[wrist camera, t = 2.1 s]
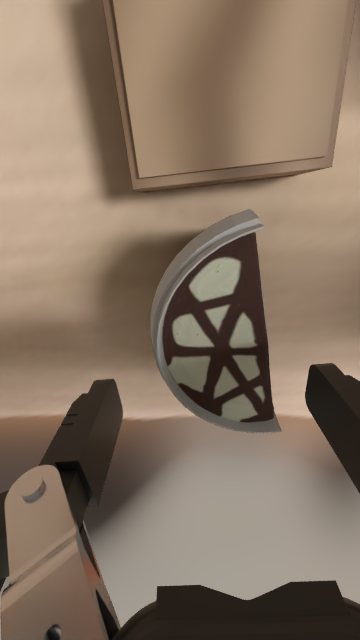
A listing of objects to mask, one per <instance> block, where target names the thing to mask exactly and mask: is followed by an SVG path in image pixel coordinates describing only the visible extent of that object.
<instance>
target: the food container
mask: <svg viewBox="0 0 360 640" xmlns="http://www.w3.org/2000/svg"><path fill="white" fill-rule="evenodd" d="M264 228H265V227H264V225H262V224H260V223H259V217H258V216H257V215H256V214H255V213H254V212H253V211H252V210H250V209H248V210H246V211H243V212H240V213H237V214H234V215H231V216H229V217H227V218H225V219H223V220H221V221H219V222H217V223H216V224H214V225H212V226H210V227H208V228H207V229H206V230H204V231H203V232H202V233H200V234H199V235H198V236H196V237H195V238H194V239H192V240H191V241H190V242H189V243H188V244H187V245H186V246H185V247H184V248H183V249H182V250H181V251H180V252H179V253H178V254H177V255H176V257H175V258H174V260H173V261H172V262H171V264H170V265H169V267H168V268H167V269H166V271H165V273H164V275H163V277H162V279H161V281H160V283H159V285H158V287H157V289H156V293H155V296H154V299H153V303H152V308H151V317H150V329H151V340H152V345H153V351H154V355H155V359H156V363H157V366H158V368H159V370H160V373H161V375H162V377H163V379H164V380H165V382H166V383H167V385H168V387H169V388H170V390H171V391H172V393H173V394H174V396H175V397H176V398H177V399H178V400H179V401H180V402H181V403H182V404H183V405H184V406H185V407H186V408H187V409H188V410H190V411H191V412H192V413H194V414H195V415H196V416H198V417H200V418H202V419H204V420H205V421H207V422H209V423H212V424H215V425H217V426H220V427H222V428H226V429H231V430H234V431H240V432H248V433H275V432H282V431H281V428H280V426H279V423H278V420H277V418H276V415H275V413H274V407H273V403H272V395H271V383H270V371H269V352H268V340H267V333H266V325H265V318H264V309H263V300H262V291H261V281H260V272H259V262H258V252H257V243H256V234H255V231H258V230H261V229H264Z"/></svg>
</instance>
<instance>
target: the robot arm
mask: <svg viewBox="0 0 360 640" xmlns="http://www.w3.org/2000/svg"><path fill="white" fill-rule="evenodd" d="M305 399H306V404H307V407H308V409H309V411H310V413H311V414H312V416H313V417H314V419H315V421H316V422H317V424H318V426H319V427H320V429H321V430H322V432H323V434H324V435H325V437H326V439H327V440H328V442H329V444H330V445H331V447H332V448H333V450H334V452H335V454H336V455H337V457H338V458H339V460H340V462H341V463H342V465H343V467H344V468H345V470H346V472H347V473H348V475H349V476H350V478H351V480H352V481H353V483H354V485H355V486H356V488H357V490H358V491H359V493H360V381H358V380H357V379H355V378H353V377H352V376H350V375H344V374H343V373H342V372H341V371H340V370H339V368H338V367H337V366H336V365H335V364H333V363H327V364H314V365H311V366H310V368H309V374H308V380H307V386H306V392H305ZM122 417H123V410H122V404H121V400H120V397H119V393H118V389H117V385H116V382H115V380H114V379H106V380H95V381H94V382H93V384H92V386H91V388H90V390H89V392H88V393H87V394H82V395H81V396H80V397H79V398H78V399H77V400H75V401H74V402H73V403H72V405H71V407H70V409H69V411H68V412H67V414H66V417H65V418H64V420H63V422H62V424H61V426H60V427H59V429H58V431H57V433H56V435H55V436H54V438H53V440H52V442H51V444H50V446H49V448H48V449H47V451H46V453H45V455H44V457H43V459H42V461H41V462H40V464H39V466H38V467H35V468H33V469H31V470H29V471H28V472H26V473H25V474H23V475H22V476H21V477H20V478H19V479H18V480H17V481H16V482H15V483H14V484H13V486H12V487H11V489H10V490H9V491H6V492H3V493H1V494H0V591H1V588H2V586H3V584H4V581H5V579H6V577H8V576H10V582H9V586H8V587H7V588H6V589H4V591H3V593H2V596H1V604H0V615H1V616H0V617H1V640H360V604H358V603H356V602H354V601H352V600H349V599H347V598H344V597H342V595H341V592H340V590H339V588H338V585H337V583H336V581H309V582H290V583H288V584H285V585H283V586H281V587H279V588H277V589H274V590H273V591H270V592H268V593H265V594H263V595H261V596H259V597H256V598H254V599H252V600H242V599H240V598H237V597H234V596H231V595H228V594H225V593H222V592H219V591H216V590H213V589H210V588H207V587H204V586H201V585H185V586H158V587H157V600H156V601H155V602H153V603H151V604H149V605H147V606H146V607H144V608H142V609H141V610H140V611H138V612H137V613H136V614H135V615H134V616H132V617H131V618H130V619H129V620H128V621H127V622H126V623H125V624H124V626H123V627H122V628H121V627H120V624H119V621H118V618H117V615H116V612H115V609H114V607H113V604H112V601H111V599H110V596H109V594H108V591H107V589H106V586H105V584H104V581H103V578H102V575H101V572H100V569H99V566H98V563H97V560H96V557H95V554H94V551H93V548H92V545H91V542H90V539H89V536H88V533H87V530H86V527H85V524H84V522H83V519H84V516H85V513H86V509H87V507H98V506H99V503H100V500H101V495H102V492H103V489H104V485H105V481H106V478H107V474H108V470H109V467H110V463H111V459H112V456H113V452H114V448H115V445H116V441H117V437H118V433H119V430H120V426H121V422H122Z"/></svg>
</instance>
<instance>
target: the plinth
mask: <svg viewBox="0 0 360 640" xmlns="http://www.w3.org/2000/svg"><path fill="white" fill-rule="evenodd" d="M355 5H356V0H103V6H104V13H105V19H106V25H107V31H108V37H109V44H110V50H111V56H112V62H113V68H114V75H115V81H116V87H117V93H118V99H119V106H120V112H121V118H122V124H123V130H124V137H125V143H126V149H127V155H128V161H129V168H130V174H131V180H132V186H133V190H138V191H142V192H147V191H156V190H164V189H173V188H182V187H191V186H200V185H209V184H217V183H226V182H235V181H244V180H253V179H262V178H270V177H279V176H288V175H297V174H303V173H307V172H312V171H316V170H320V169H325V168H329V167H332V162H333V155H334V149H335V142H336V135H337V128H338V121H339V114H340V108H341V101H342V94H343V87H344V80H345V74H346V67H347V60H348V53H349V46H350V39H351V33H352V26H353V19H354V12H355Z"/></svg>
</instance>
